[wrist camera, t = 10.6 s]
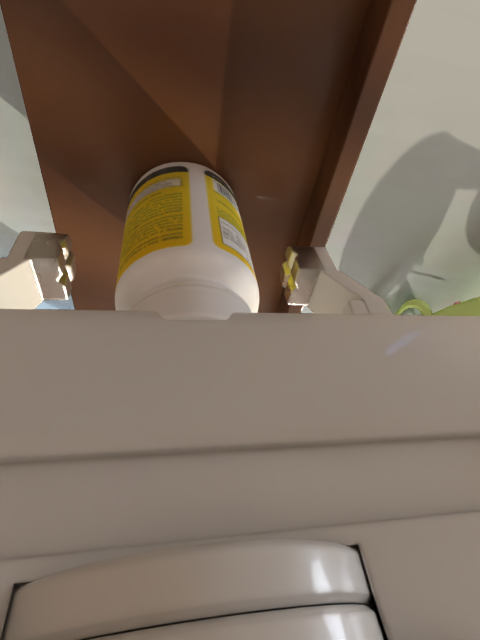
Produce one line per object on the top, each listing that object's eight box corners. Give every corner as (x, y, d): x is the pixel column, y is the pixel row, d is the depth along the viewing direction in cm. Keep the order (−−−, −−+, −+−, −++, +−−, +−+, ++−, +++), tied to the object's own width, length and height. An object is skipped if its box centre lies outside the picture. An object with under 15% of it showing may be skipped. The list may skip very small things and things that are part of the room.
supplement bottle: (123, 244, 17) (97, 402, 11) (135, 143, 14) (110, 290, 8) (221, 263, 19) (243, 410, 13) (253, 175, 15) (300, 319, 10)
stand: (82, -85, 20) (-53, -114, 8) (289, -41, 23) (422, -14, 10) (111, 188, 32) (73, 347, 19) (247, 199, 34) (288, 346, 22)
